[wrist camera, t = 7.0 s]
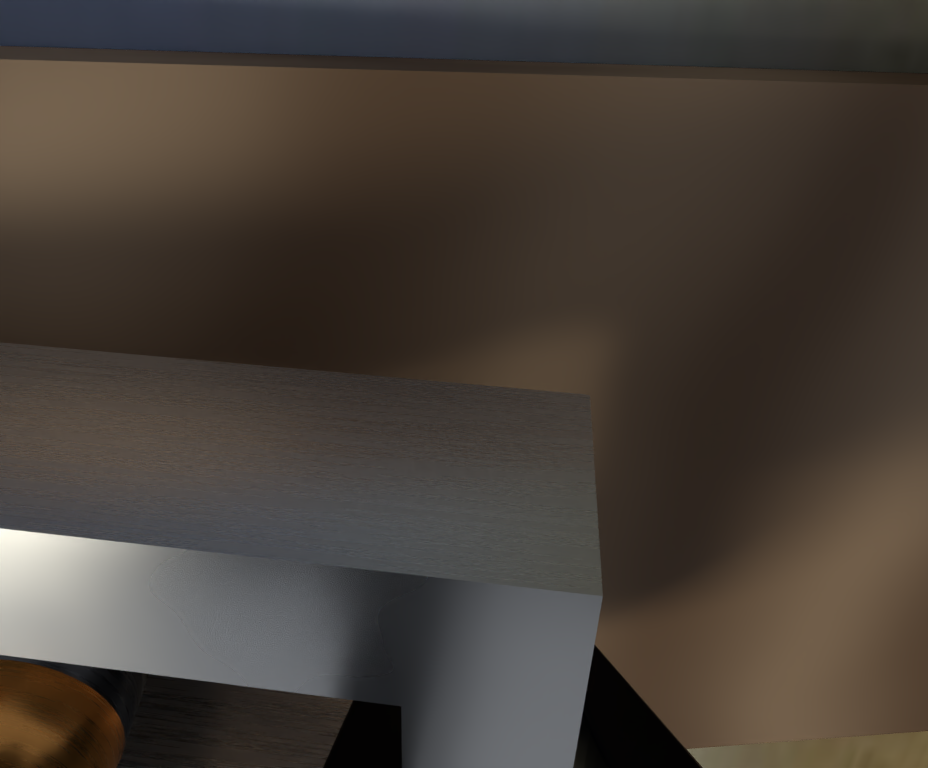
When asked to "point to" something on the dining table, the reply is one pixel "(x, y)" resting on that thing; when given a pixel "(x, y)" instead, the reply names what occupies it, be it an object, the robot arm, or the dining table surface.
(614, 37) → the dining table surface
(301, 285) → the keeper board
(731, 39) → the dining table surface
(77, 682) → the keeper stud
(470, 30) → the dining table surface
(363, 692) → the grey rectangular frame
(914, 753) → the dining table surface
